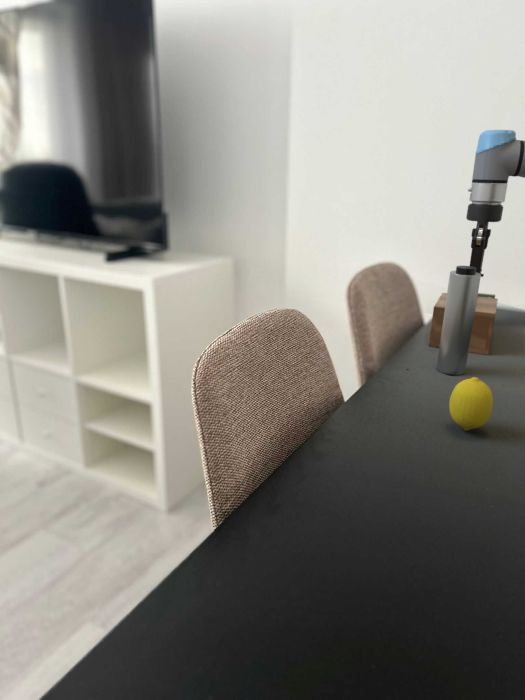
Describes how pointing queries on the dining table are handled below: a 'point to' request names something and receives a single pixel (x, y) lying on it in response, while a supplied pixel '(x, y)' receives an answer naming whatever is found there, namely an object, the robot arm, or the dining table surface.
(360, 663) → the dining table surface
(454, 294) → the silver capped cylinder
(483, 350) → the cabinet
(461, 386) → the lemon
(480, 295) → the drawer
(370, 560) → the dining table surface
